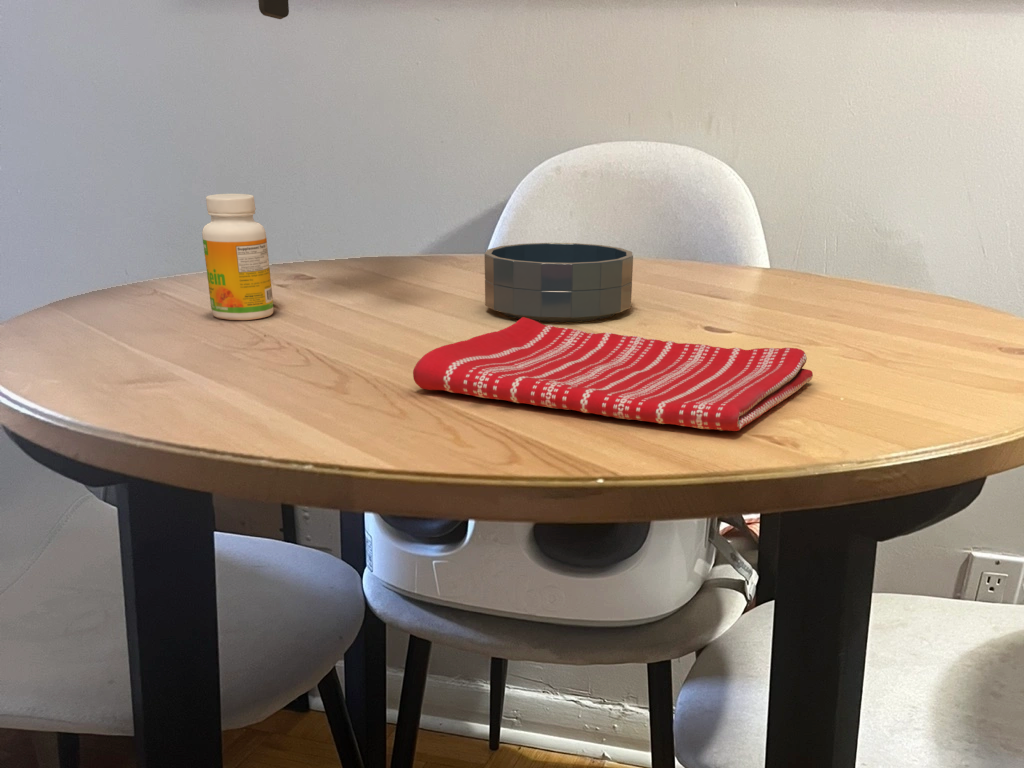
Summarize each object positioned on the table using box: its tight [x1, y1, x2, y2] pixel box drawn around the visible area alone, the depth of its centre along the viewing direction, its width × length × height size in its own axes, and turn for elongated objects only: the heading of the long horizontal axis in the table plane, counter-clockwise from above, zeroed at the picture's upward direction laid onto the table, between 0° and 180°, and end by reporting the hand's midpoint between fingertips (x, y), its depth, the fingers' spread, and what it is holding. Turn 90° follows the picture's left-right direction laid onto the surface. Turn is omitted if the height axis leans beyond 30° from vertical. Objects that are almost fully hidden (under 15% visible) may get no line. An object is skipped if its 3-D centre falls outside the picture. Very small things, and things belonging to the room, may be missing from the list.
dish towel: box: [412, 317, 814, 432], centre depth 80 cm, size 17×24×3 cm
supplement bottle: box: [201, 193, 274, 321], centre depth 100 cm, size 5×5×10 cm
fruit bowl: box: [484, 242, 634, 323], centre depth 104 cm, size 13×13×5 cm
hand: (304, 2), depth 85 cm, fingers open, 8 cm apart
